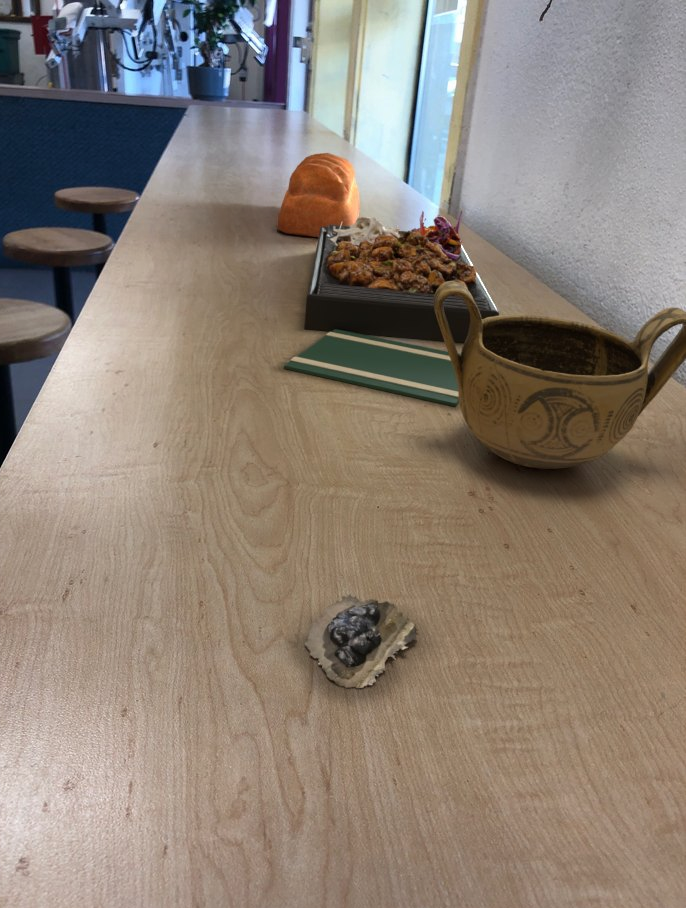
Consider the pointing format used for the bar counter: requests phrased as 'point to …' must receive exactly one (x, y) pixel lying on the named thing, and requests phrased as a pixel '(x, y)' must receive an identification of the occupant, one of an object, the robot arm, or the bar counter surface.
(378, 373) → the dish cloth
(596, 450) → the ceramic bowl
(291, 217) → the bread
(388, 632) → the dark lumps on shell
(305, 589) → the bar counter surface
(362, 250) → the food platter
